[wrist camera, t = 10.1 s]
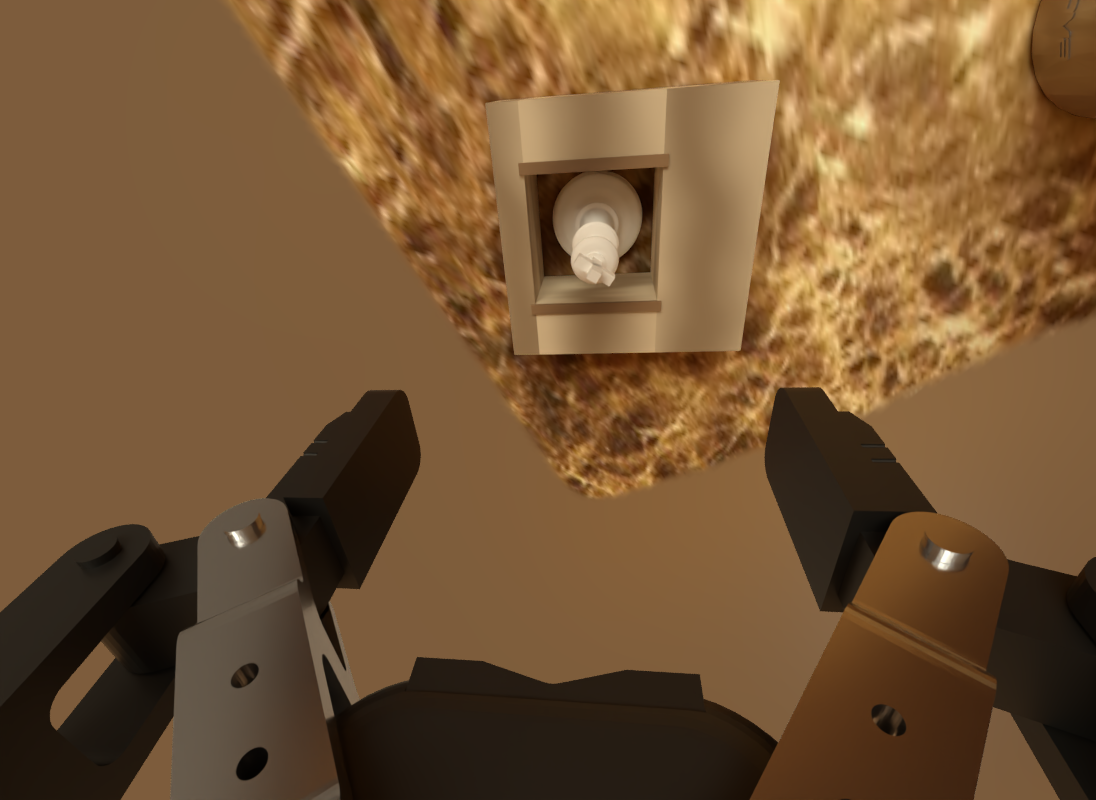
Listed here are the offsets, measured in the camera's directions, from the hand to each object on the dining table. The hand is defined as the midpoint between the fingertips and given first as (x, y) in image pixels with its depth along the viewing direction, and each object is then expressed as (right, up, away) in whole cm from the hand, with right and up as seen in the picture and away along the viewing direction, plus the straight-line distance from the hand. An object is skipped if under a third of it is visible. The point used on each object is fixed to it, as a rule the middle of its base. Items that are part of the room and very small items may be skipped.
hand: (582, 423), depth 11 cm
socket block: (+3, +10, +17) cm, 20 cm away
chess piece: (+2, +11, +17) cm, 20 cm away
